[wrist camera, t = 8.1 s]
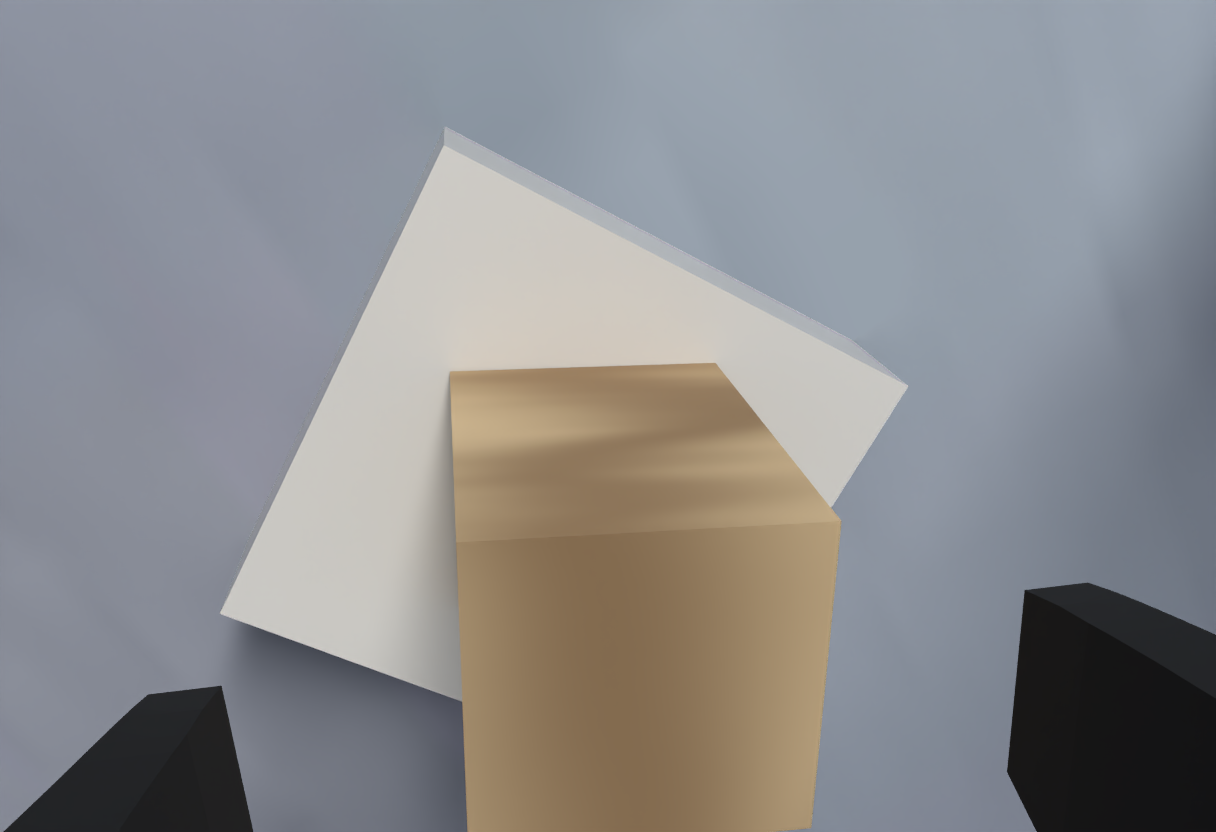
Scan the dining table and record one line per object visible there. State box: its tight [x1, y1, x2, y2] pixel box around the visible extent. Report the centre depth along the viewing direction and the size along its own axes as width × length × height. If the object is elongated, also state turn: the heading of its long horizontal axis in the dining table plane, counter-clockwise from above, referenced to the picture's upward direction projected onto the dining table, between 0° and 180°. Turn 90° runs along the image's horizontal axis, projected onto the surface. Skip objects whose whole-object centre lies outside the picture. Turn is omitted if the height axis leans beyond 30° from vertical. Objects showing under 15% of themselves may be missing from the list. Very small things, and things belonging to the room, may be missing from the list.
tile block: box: [220, 127, 908, 702], centre depth 18 cm, size 8×8×3 cm
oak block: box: [450, 363, 841, 832], centre depth 14 cm, size 4×4×6 cm
